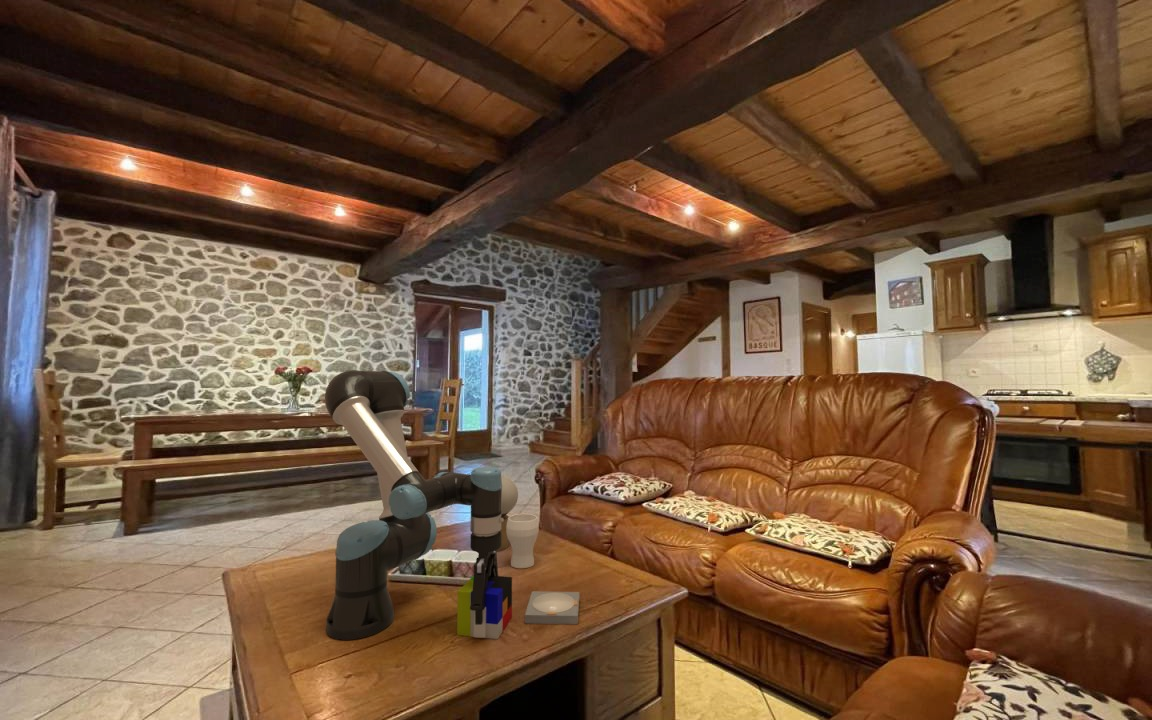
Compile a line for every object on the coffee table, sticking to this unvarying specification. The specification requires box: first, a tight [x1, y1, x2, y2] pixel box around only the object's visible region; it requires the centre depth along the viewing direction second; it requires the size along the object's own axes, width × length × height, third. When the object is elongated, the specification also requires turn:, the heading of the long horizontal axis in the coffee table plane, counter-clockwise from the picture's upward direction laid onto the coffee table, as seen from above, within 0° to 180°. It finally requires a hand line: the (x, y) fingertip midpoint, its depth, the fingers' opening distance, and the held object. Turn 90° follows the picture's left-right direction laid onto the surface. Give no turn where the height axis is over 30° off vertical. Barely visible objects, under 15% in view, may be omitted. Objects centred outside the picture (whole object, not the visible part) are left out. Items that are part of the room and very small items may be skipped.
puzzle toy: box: [456, 575, 513, 640], centre depth 112 cm, size 10×10×10 cm
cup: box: [506, 513, 540, 569], centre depth 151 cm, size 11×11×15 cm
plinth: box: [524, 590, 580, 625], centre depth 119 cm, size 13×13×2 cm
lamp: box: [497, 475, 519, 552], centre depth 168 cm, size 15×14×25 cm
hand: (485, 624), depth 111 cm, fingers closed on puzzle toy, 11 cm apart
